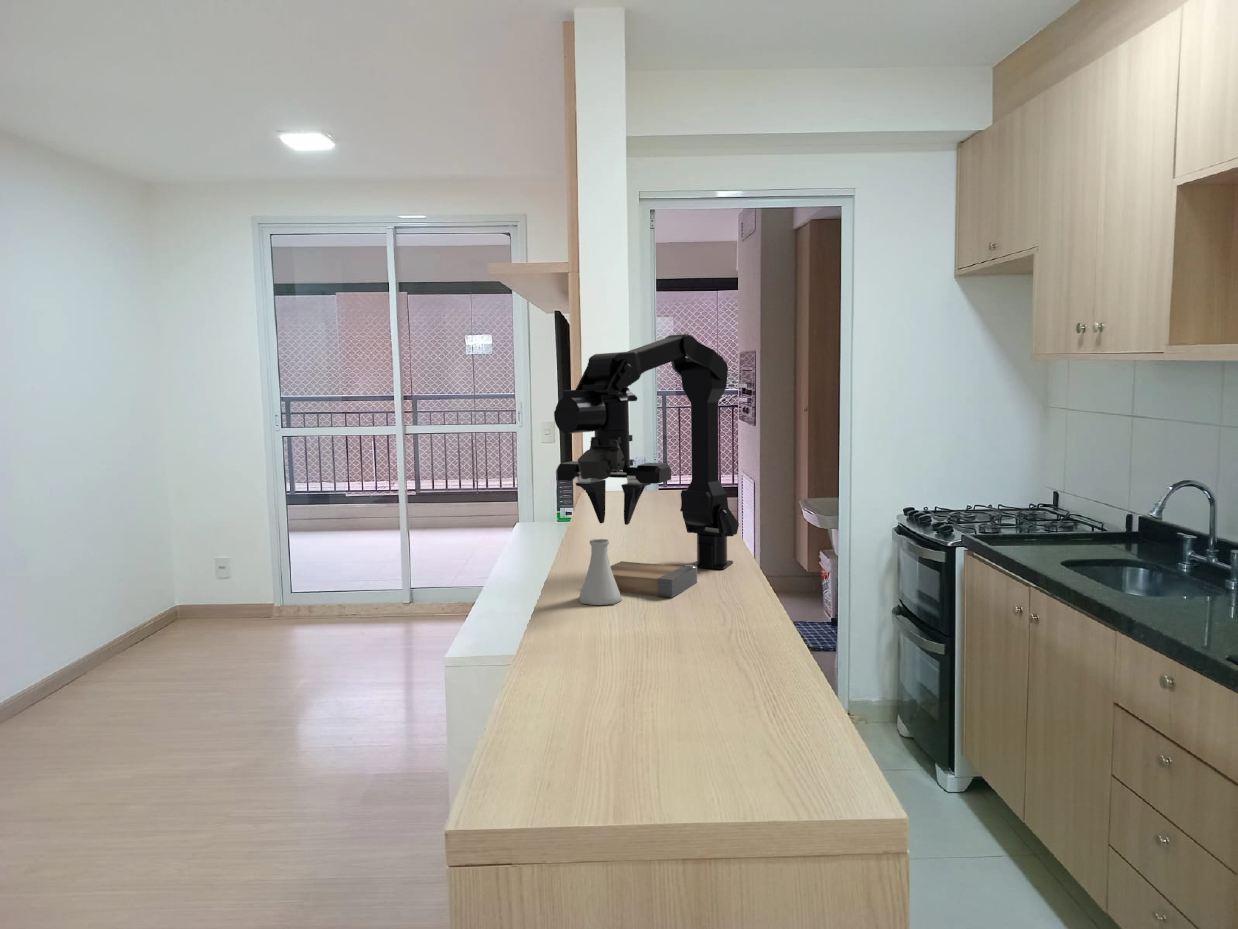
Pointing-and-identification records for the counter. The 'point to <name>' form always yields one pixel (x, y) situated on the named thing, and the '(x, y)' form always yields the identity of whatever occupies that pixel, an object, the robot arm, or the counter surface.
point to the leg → (677, 581)
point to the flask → (599, 577)
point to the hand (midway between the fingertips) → (614, 523)
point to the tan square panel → (639, 576)
